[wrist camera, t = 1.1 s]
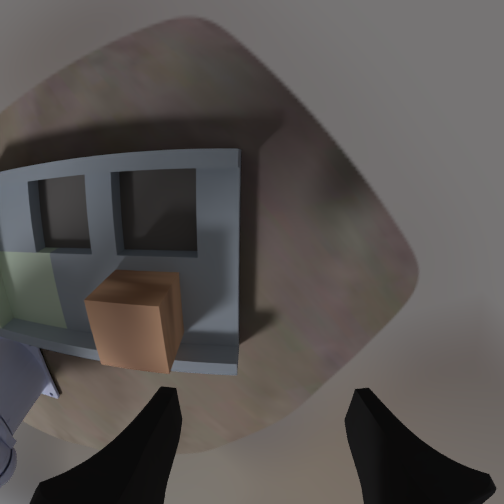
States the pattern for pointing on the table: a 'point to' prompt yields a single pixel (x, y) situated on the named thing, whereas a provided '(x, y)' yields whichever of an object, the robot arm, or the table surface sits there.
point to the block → (137, 319)
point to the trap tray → (123, 246)
